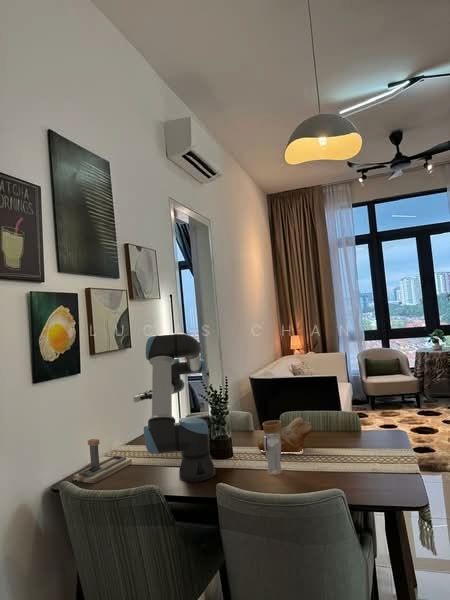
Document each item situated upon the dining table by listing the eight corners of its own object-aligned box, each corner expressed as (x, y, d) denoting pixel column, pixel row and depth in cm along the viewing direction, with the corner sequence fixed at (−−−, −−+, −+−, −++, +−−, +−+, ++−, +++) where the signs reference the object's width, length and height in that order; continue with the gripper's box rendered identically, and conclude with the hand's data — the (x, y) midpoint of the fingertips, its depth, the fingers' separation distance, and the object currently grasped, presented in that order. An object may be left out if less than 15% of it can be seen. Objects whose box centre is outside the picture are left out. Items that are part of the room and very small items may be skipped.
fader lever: (101, 469, 185) (99, 439, 186) (97, 471, 183) (95, 441, 183) (93, 468, 187) (91, 438, 188) (89, 470, 185) (87, 440, 186)
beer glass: (282, 475, 169) (279, 438, 170) (265, 475, 171) (262, 438, 171) (283, 469, 176) (281, 433, 176) (267, 469, 177) (264, 433, 178)
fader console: (131, 463, 197) (131, 456, 197) (93, 483, 176) (93, 475, 176) (112, 460, 203) (112, 454, 203) (73, 480, 182) (72, 472, 182)
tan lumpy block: (314, 455, 190) (312, 421, 190) (256, 456, 194) (254, 423, 194) (313, 445, 203) (310, 414, 204) (259, 446, 208) (256, 415, 208)
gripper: (174, 397, 223) (145, 407, 202) (154, 396, 229) (125, 406, 208) (173, 383, 223) (144, 392, 202) (153, 382, 229) (123, 391, 209)
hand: (134, 399), depth 205 cm, fingers closed
